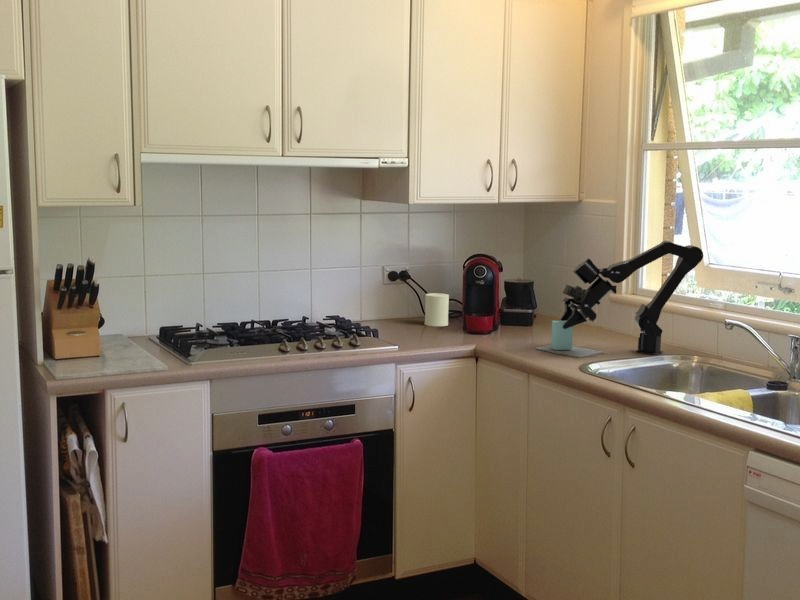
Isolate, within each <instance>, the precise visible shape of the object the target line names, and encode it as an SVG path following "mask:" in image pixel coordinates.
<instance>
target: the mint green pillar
mask: <svg viewBox="0 0 800 600" xmlns="http://www.w3.org/2000/svg"><path fill="white" fill-rule="evenodd" d="M565 322H566V321H560V320H551V331H550V333H551V336H550V345H551V348H553V349H554V350H566V349H572V346H573V337H574V335H573V334H574V326H572V327H569V328H567V329H564V328H563V325H564V324H565Z"/></svg>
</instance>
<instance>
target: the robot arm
mask: <svg viewBox="0 0 800 600" xmlns="http://www.w3.org/2000/svg"><path fill="white" fill-rule="evenodd" d="M666 255H673V256H677V259H676V263H675V266H674V268H673V269H672V270H671V272H670V273H669V275H668V276H667V278H666V280H665V281H664V282H663V283H662V285H661V287H660V288H659V290H658V291H657V292H656V293H655V295H654V297H653V298H652V300H650V302H649V303H647V304H646V305H645V304H644V303H641V304H640V307H639V309H638V310H637V311H635V317H634V321H635V324H636V326H637V327H638V328H639V330H640V333H639V336H638V339H637V341H638V342H637V349H636V351H635V352H636V353H637V352H638V353H641V354H642V353H643V354H647V355H657V353H658V354H661V352H662V353H663V352H664V350H661V347H662V346H661V343H662V334H663V329H662V328H661V327H660V326H659V325H658V321H659V319H660V316H661V313H662V310H663V308H664V306H665V305H666V304H667V302H668V301H669V300H670V298H671V296H673V293H675V291H676V289H677V288H678V287H679V285H680V284H681V282H682V281H683V280H684V278H685V277H686V275H687V274H688V273H690V272H691V271H693V270H694V269H695V267H697V266H698V265H699V264H700V263H701V262H702V261H703V258H704V252H703V250H702V249H701V247H698V246H696V245H693V244H691V245H689V244H688V245H685V246H684V245H682V244H681V245H680V244H677V243H673V242H672V241H669V240H663V241H662V242H660V243H659V244H656V245H655V246H653V247H650V248H648V249H646V250H645V251H644V252H641V253H640V254H638V255H635V256H634V257H631V258H630V259H627V260H623V261H618V262H615V263H612V264H610V265H609V266H607V267H606V268H605V267H604V268H602V267H601V268H599V267H597V266H596V265H595V264H594V263H593V261H592V259H590V258H586V259H585V260H584V261H582V262H581V263H579V264H578V265H576V267H575V268H574V269H573V271H572V272H573V273H574V274H575V276H576V277H578V279H579V280H581V282H582V283H584V284H588V285H589V286H588V288H587V289H585V288H583V287H580V286H578V285H576V286H572V285H569V284H566V285H565V288H564V290H563V291H562V294H564V295H567V296H569V297H567V296H566V297H564V299H562V300H561V302H562V303H563V304H564V312H563V315H562V316H561V317H560V320H559V321H566V322H565V324H564V325H563V328H564V329H567V328H569V327H572V326H573V327H575V326H577V325H580V324H583V323H587V322H588V321H589V322H591V323H593V322H594V321H595V320H596V319H597V314H598V313H596V312H595V311H594V310H593V308H594V307H596V305H597V306H599V305H600V304H601V300H602V299H603V298H604V297H605V296H607V294H608V293H609V292H610V293H611V294H612V295H613V294H615V295H616V294H617V285H616V284H620V283H623V282H624V281H626V279H628V278H629V277H631V275H632V274H634V272H636V271H637V270H638V269H641V268H643V267H646V265H649V264H651V263H652V262H655V261H657V260H659V259H660V258H662V257H664V256H666ZM601 276H602V277H601ZM603 278H605V279H603ZM610 281H611V282H612V283H614V284H615V283H616V284H615V285H613V284H612V283H611V282H610Z"/></svg>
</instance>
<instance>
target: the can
mask: <svg viewBox="0 0 800 600" xmlns="http://www.w3.org/2000/svg"><path fill="white" fill-rule="evenodd" d="M424 299H425V302H424V303H425V305H424V306H425V307H424V309H425V312H424V325H425V326H427V327H428V326H429V327H446V326H447V327H448V325H449V306H450V305H449V303H450V301H449V300H450V294H448V293H441V292H437V293H433V292H432V293H431V292H430V293H426V294H425V298H424Z"/></svg>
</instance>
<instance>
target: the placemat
mask: <svg viewBox="0 0 800 600" xmlns="http://www.w3.org/2000/svg"><path fill="white" fill-rule="evenodd" d="M535 350H538V351H543V352H547V353H553V354H558V355H564V356H570V357H573V358H580V359H582V358H586V357H587V358H588V357H591V356H597V355H602V354H604V351H600V350H596V349H590V348H584V347H579V346H573V345H572V349H566V350H554V349H553V348H551V344H549V345H545V346H540V347H535ZM601 353H602V354H601Z"/></svg>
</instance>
